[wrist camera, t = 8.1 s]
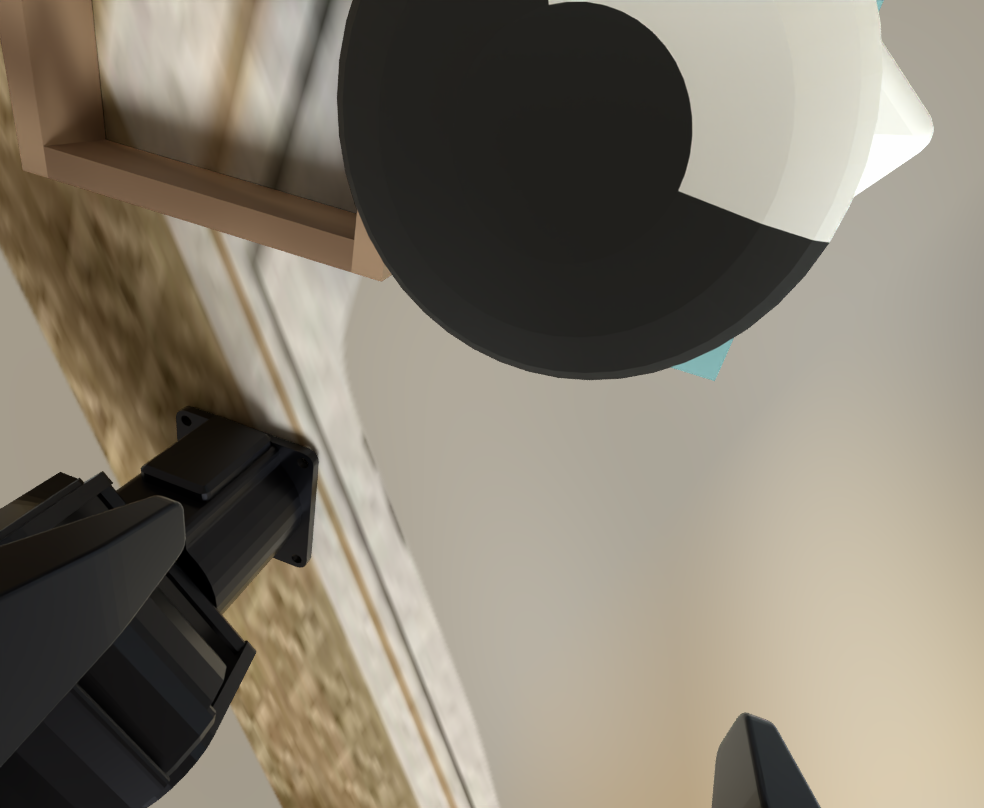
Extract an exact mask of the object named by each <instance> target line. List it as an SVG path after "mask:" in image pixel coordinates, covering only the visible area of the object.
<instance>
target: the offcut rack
mask: <svg viewBox="0 0 984 808" xmlns="http://www.w3.org/2000/svg"><path fill="white" fill-rule="evenodd" d="M0 39H1V45H2V51H3V56H4V62H5V68H6V74H7V80H8V86H9V92H10V98H11V104H12V110H13V115H14V121H15V127H16V133H17V139H18V145H19V151H20V157H21V163H22V168H23V170H24V171H27V172H30V173H34V174H37V175H40V176H43V177H46V178H50V179H53V180H56V181H59V182H62V183H66V184H69V185H72V186H75V187H79V188H82V189H85V190H88V191H91V192H95V193H98V194H101V195H104V196H108V197H111V198H114V199H117V200H120V201H124V202H127V203H130V204H133V205H136V206H140V207H143V208H146V209H149V210H153V211H156V212H159V213H162V214H165V215H169V216H172V217H175V218H178V219H182V220H185V221H188V222H191V223H194V224H198V225H201V226H204V227H207V228H210V229H214V230H217V231H220V232H223V233H227V234H230V235H233V236H236V237H239V238H243V239H246V240H249V241H252V242H256V243H259V244H262V245H265V246H268V247H272V248H275V249H278V250H281V251H284V252H288V253H291V254H294V255H297V256H301V257H304V258H307V259H310V260H313V261H317V262H320V263H323V264H326V265H330V266H333V267H336V268H339V269H342V270H346V271H349V272H352V273H355V274H358V275H362V276H365V277H368V278H371V279H375V280H378V281H383V280H385V279H386V278H388V277H389V276H391V275H392V274H391V273H390V271H389V270H388V268H387V267H386V266H385V264H384V263H383V261H382V259H381V257H380V256H379V254H378V252H377V250H376V249H375V247H374V245H373V243H372V242H371V240H370V238H369V236H368V234H367V232H366V229H365V227H364V225H363V222H362V220H361V218H360V215H359V213H358V210H357V214H356V213H352V212H349V211H345V210H342V209H339V208H335V207H332V206H329V205H325V204H322V203H318V202H315V201H312V200H308V199H305V198H301V197H298V196H295V195H291V194H288V193H285V192H281V191H278V190H274V189H271V188H268V187H264V186H261V185H258V184H254V183H251V182H247V181H244V180H241V179H237V178H234V177H230V176H227V175H224V174H220V173H217V172H214V171H210V170H207V169H203V168H200V167H197V166H193V165H190V164H186V163H183V162H180V161H176V160H173V159H170V158H166V157H163V156H159V155H156V154H153V153H149V152H146V151H143V150H139V149H136V148H132V147H129V146H126V145H122V144H119V143H115V142H112V141H109V140H106V137H105V127H104V118H103V108H102V98H101V88H100V79H99V69H98V59H97V49H96V40H95V30H94V20H93V10H92V1H91V0H0Z"/></svg>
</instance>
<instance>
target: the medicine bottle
mask: <svg viewBox="0 0 984 808" xmlns="http://www.w3.org/2000/svg"><path fill="white" fill-rule="evenodd" d="M337 106H338V124H339V138H340V144H341V149H342V155H343V161H344V167H345V172H346V175H347V179H348V182H349V186H350V189H351V193H352V196H353V199H354V203H355V206H356V208H357V210H358V213H359V215H360V218H361V220H362V222H363V225H364V227H365V229H366V232H367V234H368V236H369V238H370V240H371V242H372V243H373V245H374V247H375V249H376V250H377V252H378V254H379V256H380V257H381V259H382V261H383V263H384V264H385V266H386V267H387V268H388V270H389V271H390V273H391V274H392V275H393V277H394V278H395V279H396V281H397V282H398V283H399V285H400V286H401V288H402V289H403V290H404V291H405V292H406V293H407V294H408V295H409V296H410V298H411V299H412V300H413V301H414V302H415V303H416V304H417V305H418V306H419V307H420V308H421V309H422V311H423V312H425V313H426V314H427V315H428V316H429V317H430V318H432V319H433V320H434V321H435V322H436V323H438V324H439V325H440V326H441V327H442V328H443V329H445V330H446V331H447V332H448V333H450V334H451V335H453V336H454V337H456V338H457V339H459V340H461V341H462V342H464V343H465V344H467V345H468V346H470V347H472V348H473V349H475V350H477V351H479V352H481V353H483V354H485V355H487V356H489V357H491V358H494V359H495V360H497V361H499V362H502V363H505V364H508V365H511V366H514V367H517V368H520V369H523V370H525V371H529V372H533V373H538V374H543V375H548V376H553V377H557V378H568V379H582V380H600V379H601V380H602V379H619V378H620V379H621V378H627V377H632V376H637V375H643V374H649V373H654V372H657V371H660V370H663V369H666V368H670V367H673V366H676V365H679V364H682V363H686V362H688V361H690V360H692V359H694V358H696V357H699V356H701V355H703V354H705V353H707V352H709V351H712V350H714V349H716V348H718V347H720V346H721V345H723V344H724V343H726V342H728V341H729V340H731V339H732V338H734V337H735V336H737V335H739V334H740V333H742V332H743V331H745V330H746V329H748V328H749V327H751V326H752V325H753V324H754V323H756V322H757V321H758V320H759V319H761V318H762V317H763V316H764V315H765V314H767V313H768V312H769V311H770V310H772V309H773V308H774V307H775V306H776V305H778V304H779V303H780V302H781V301H782V299H783V298H784V297H785V296H786V295H787V294H788V293H789V292H790V291H791V290H792V289H793V288H794V287H795V286H796V285H797V284H798V283H799V282H800V281H801V280H802V278H803V277H804V276H805V275H806V274H807V272H808V271H809V270H810V268H811V267H812V266H813V264H814V263H815V262H816V260H817V259H818V257H819V256H820V255H821V253H822V252H823V251H824V249H825V248H826V246H827V245H828V244H829V242H830V241H831V239H832V237H833V235H834V234H835V232H836V230H837V228H838V226H839V224H840V223H841V221H842V219H843V217H844V215H845V214H846V212H847V210H848V208H849V206H850V205H851V202H852V199H853V197H854V196H856V195H857V194H859V193H860V192H862V191H863V190H865V189H866V188H867V187H869V186H871V185H872V184H873V183H875V182H877V181H878V180H879V179H881V178H882V177H884V176H885V175H887V174H888V173H890V172H891V171H893V170H894V169H896V168H897V167H899V166H900V165H901V164H903V163H905V162H906V161H908V160H909V159H910V158H912V157H913V156H915V155H916V154H918V153H919V152H921V151H922V150H923V149H924V148H925V146H926V145H928V144H929V142H930V140H931V137H932V134H933V131H934V127H933V123H932V119H931V116H930V115H929V113H928V111H927V110H926V108H925V107H924V105H923V103H922V102H921V100H920V99H919V97H918V96H917V94H916V93H915V91H914V90H913V88H912V87H911V85H910V84H909V82H908V80H907V79H906V77H905V76H904V74H903V73H902V71H901V70H900V68H899V66H898V65H897V63H896V62H895V60H894V59H893V57H892V56H891V54H890V53H889V51H888V50H887V48H886V47H885V45H884V43H883V42H882V40H881V23H880V18H879V12H878V7H877V2H876V0H353V1H352V4H351V7H350V10H349V14H348V17H347V20H346V25H345V31H344V37H343V42H342V48H341V54H340V59H339V74H338V91H337Z"/></svg>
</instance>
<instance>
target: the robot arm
mask: <svg viewBox="0 0 984 808" xmlns="http://www.w3.org/2000/svg"><path fill="white" fill-rule="evenodd" d="M189 418H190V419H189ZM176 423H177V439H178V441H177V442H176V443H174V444H173V445H172V446H170V447H169V448H167V449H166V450H164V451H163V452H162V453H160V454H159V455H157V456H156V457H154V458H153V459H152V460H150V461H149V462H147V463H146V464H144V465H143V466H142V467H141V473H140V474H139V475H137V476H136V477H135V478H133V479H132V480H130V481H129V482H128V483H126V484H125V485H123V486H122V487H121V488H119V489H118V490H115V489H114V488H113V487H112V485H111V484H113V482H112V481H111V480H110V479H109V478H108V477H107V475H106V474H105V473H104V472H103V471H102V472H100V473H99V474H97V475H95V476H94V477H92V478H90V479H89V480H87V481H85V482H83V481H82V480H81V479H80V478H78V479H77V478H74V477H72V476H69V475H67V474H64V473H62V472H60V473H58V474H56V475H55V476H53V477H51V478H50V479H48V480H46V481H45V482H43V483H42V484H40V485H38V486H37V487H35V488H34V489H32V490H31V491H29V492H27V493H25V494H24V495H22V496H21V497H19V498H17V499H16V500H14V501H13V502H11V503H9V504H8V505H6V506H4V507H3V508H1V509H0V808H147V807H149V806H150V805H152V804H153V803H155V802H156V801H157V800H159V799H160V798H161V797H162V796H163V795H165V794H166V793H167V792H168V791H169V790H171V789H172V788H173V787H174V786H175V785H176V784H177V783H178V782H179V781H180V780H181V779H182V778H183V777H184V776H185V775H186V774H187V773H188V771H189V770H190V769H191V768H192V767H193V766H194V765H195V763H196V762H197V761H198V760H199V758H200V757H201V755H202V754H203V753H204V751H205V750H206V749H207V747H208V745H209V744H210V742H211V740H212V739H213V737H214V735H215V733H216V730H217V729H218V727H219V725H220V723H221V721H222V719H223V717H224V715H225V713H226V711H227V709H228V707H229V705H230V703H231V701H232V699H233V697H234V695H235V693H236V691H237V689H238V688H239V686H240V684H241V682H242V680H243V678H244V676H245V674H246V672H247V670H248V668H249V666H250V664H251V662H252V660H253V658H254V656H255V654H256V650H255V649H254V648H253V647H252V645H251V644H250V643H249V642H248V641H244V640H243V639H242V638H241V637H240V635H239V634H238V633H237V632H236V631H235V630H234V628H233V627H232V626H231V625H230V624H229V623H228V621H227V620H226V619H225V618H224V617H223V615H222V614H223V613H224V612H225V611H226V610H227V609H228V608H229V606H230V605H231V604H232V603H233V602H234V601H235V600H236V599H237V597H238V596H239V595H240V594H241V593H242V592H243V591H244V589H245V588H246V587H247V586H248V585H249V584H250V583H251V582H252V580H253V579H254V578H255V577H256V576H257V575H258V574H259V572H260V571H261V570H262V569H263V568H264V567H265V566H266V565H267V563H268V562H269V561H270V560H271V559H272V558H275V559H278V560H280V561H283V562H286V563H288V564H291V565H293V566H296V567H304V566H305V565H306V564H307V563H308V562H309V560H310V558H311V551H312V539H313V526H314V514H315V501H316V488H317V476H318V463H319V461H318V457H317V455H316V454H315V453H314V452H313V451H312V450H310V449H309V448H306V447H303V446H300V445H298V444H295V443H292V442H289V441H286V440H284V439H281V438H278V437H275V436H272V435H270V434H267V433H264V432H261V431H259V430H256V429H253V428H250V427H247V426H245V425H242V424H239V423H236V422H233V421H231V420H228V419H225V418H222V417H220V416H217V415H214V414H211V413H208V412H206V411H203V410H200V409H197V408H194V407H191V406H187V407H185V408H183V409H181V410H180V411H179V412H178V413H177V415H176ZM303 458H304V459H305V460H306V461H307V462H308V463H307V462H305V461H304V460H303ZM712 808H821V807H820V805H819V804H818V802H817V800H816V798H815V796H814V795H813V793H812V791H811V789H810V788H809V786H808V784H807V782H806V780H805V778H804V777H803V775H802V773H801V771H800V769H799V768H798V766H797V764H796V762H795V761H794V759H793V757H792V755H791V753H790V751H789V750H788V748H787V746H786V744H785V742H784V741H783V739H782V737H781V735H780V733H779V732H778V730H777V728H776V727H775V726H774V725H773V723H771V722H770V721H768V720H766V719H763V718H760V717H757V716H755V715H752V714H749V713H742V714H741V715H740V716H739V717H738V718H737V719H736V721H735V722H734V724H733V725H732V727H731V728H730V730H729V732H728V733H727V735H726V736H725V738H724V739H723V741H722V742H721V744H720V746H719V749H718V752H717V757H716V764H715V776H714V787H713V798H712Z"/></svg>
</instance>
